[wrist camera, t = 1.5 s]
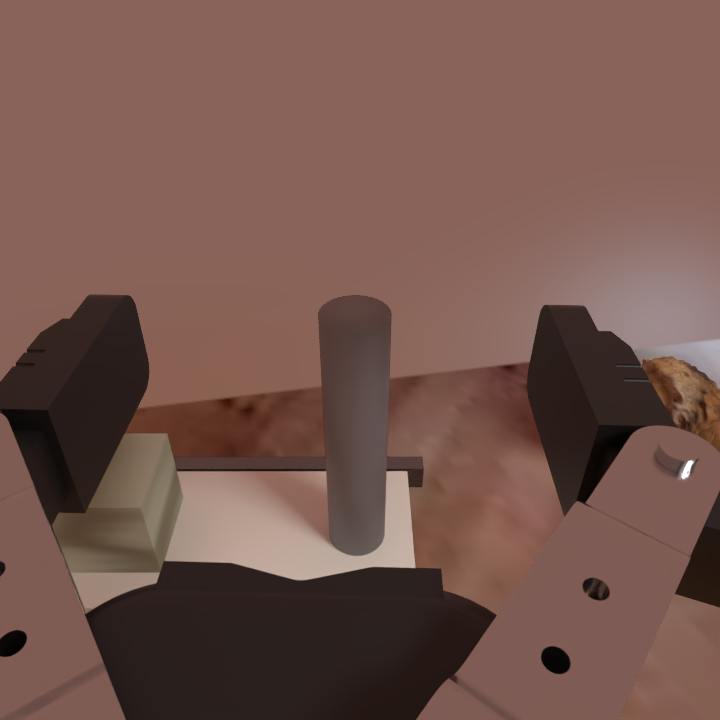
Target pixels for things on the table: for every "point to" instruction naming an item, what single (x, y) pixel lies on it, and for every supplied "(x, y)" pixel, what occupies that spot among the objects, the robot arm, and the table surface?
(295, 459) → the guide rails
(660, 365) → the lion figurine
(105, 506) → the block
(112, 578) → the base with upright peg
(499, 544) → the table surface
